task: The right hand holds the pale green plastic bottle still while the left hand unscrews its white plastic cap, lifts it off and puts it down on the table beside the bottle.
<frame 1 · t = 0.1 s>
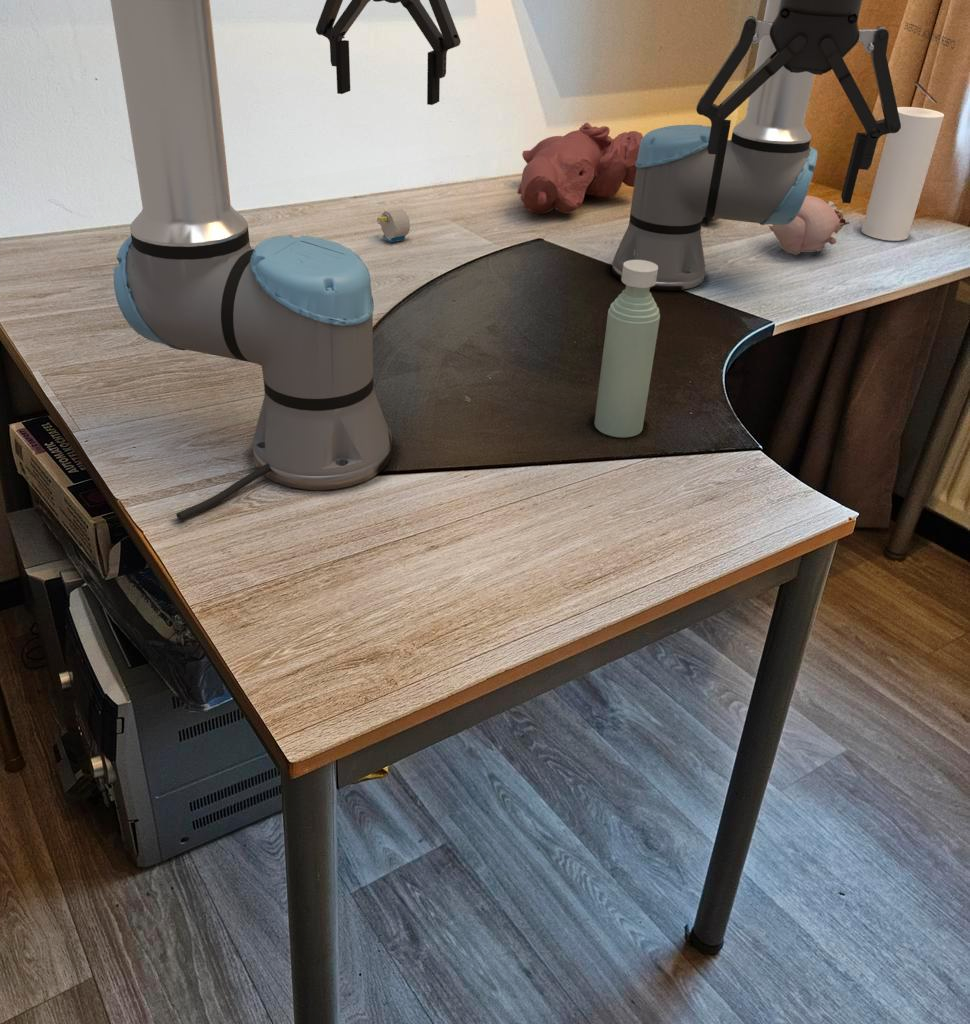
left hand: (388, 97, 135), 28 cm above the table, tool pointing down, fingers open, 13 cm apart
right hand: (779, 193, 103), 28 cm above the table, tool pointing down, fingers open, 13 cm apart
electric motor: (391, 241, 169), on the table
tall white cylinder: (880, 233, 185), on the table
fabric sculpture: (573, 204, 192), on the table
toy 2: (799, 251, 174), on the table
bottle: (618, 425, 117), on the table
cap: (640, 268, 106), point 20 cm above the table, screwed on, not yet turned
toy: (710, 205, 196), on the table
ceramic shard: (215, 291, 146), on the table
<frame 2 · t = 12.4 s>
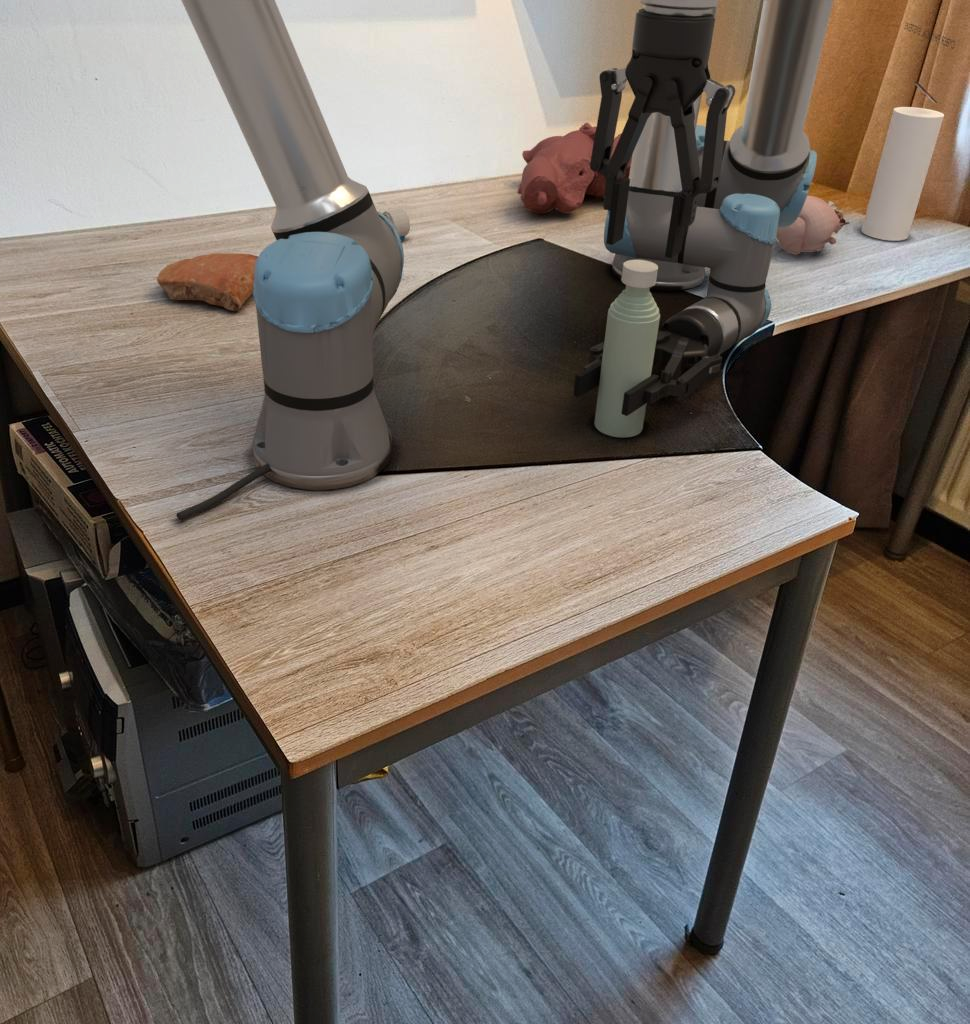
left hand: (643, 247, 104), 22 cm above the table, tool pointing down, fingers open, 6 cm apart
right hand: (601, 395, 110), 6 cm above the table, tool horizontal, fingers closed on bottle, 6 cm apart
bottle: (618, 425, 117), on the table, touching right hand
everything else where it was.
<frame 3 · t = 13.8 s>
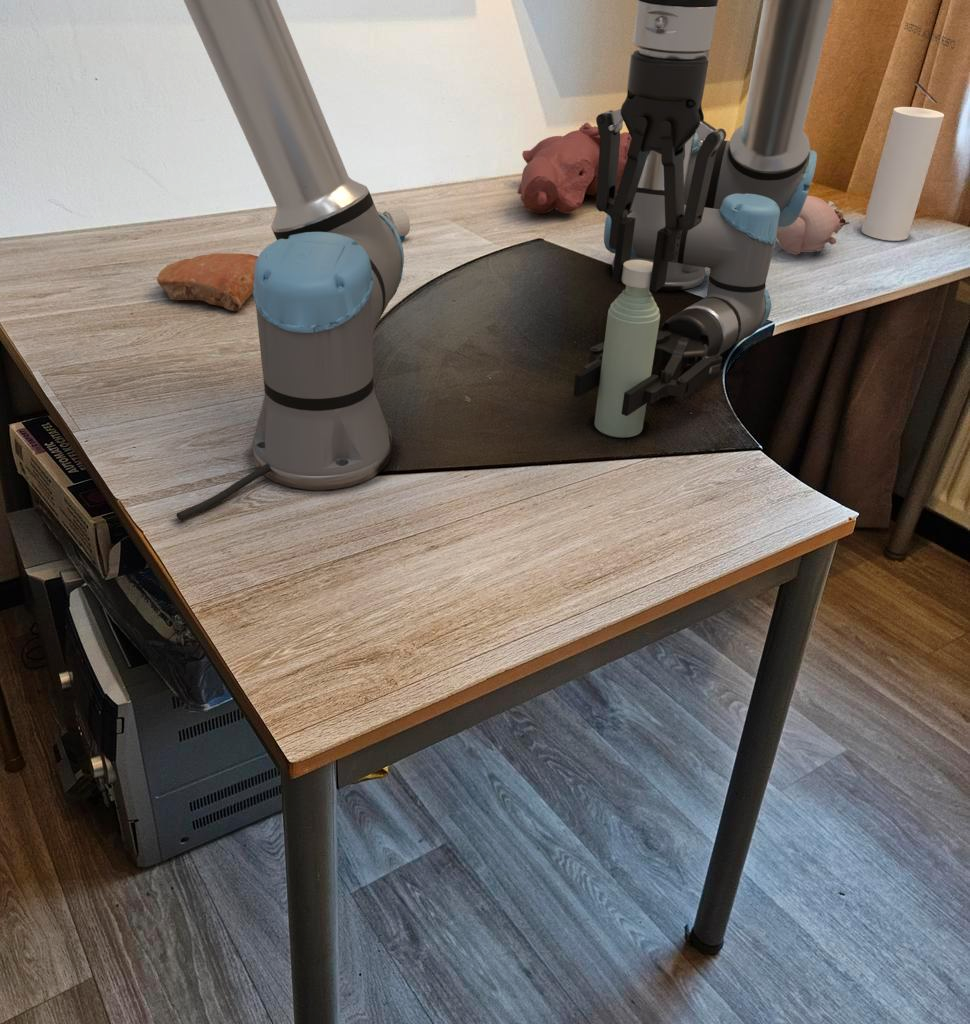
left hand: (638, 282, 107), 18 cm above the table, tool pointing down, fingers closed on cap, 4 cm apart
right hand: (601, 395, 110), 6 cm above the table, tool horizontal, fingers closed on bottle, 6 cm apart
bottle: (618, 425, 117), on the table, touching right hand
cap: (640, 268, 106), point 20 cm above the table, screwed on, not yet turned, touching left hand
everything else where it was.
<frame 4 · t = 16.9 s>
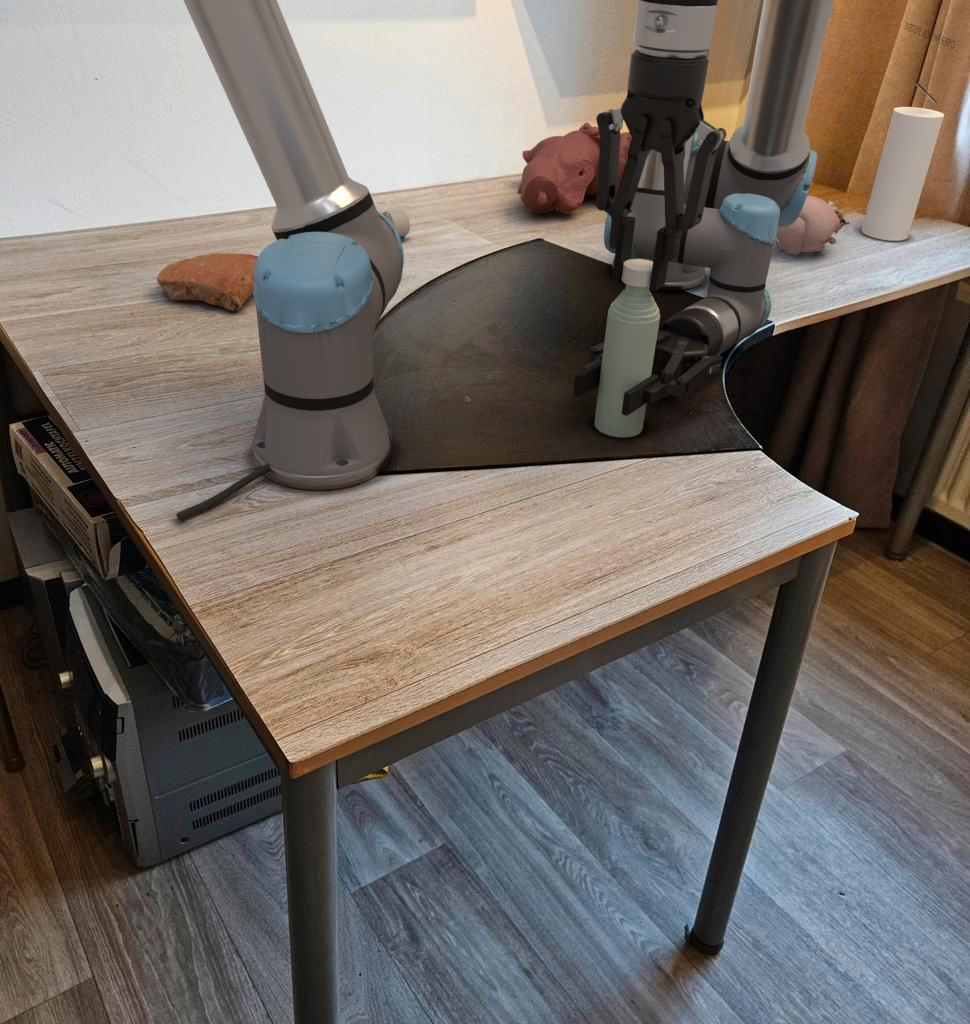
left hand: (638, 281, 107), 18 cm above the table, tool pointing down, fingers closed on cap, 4 cm apart
right hand: (601, 395, 110), 6 cm above the table, tool horizontal, fingers closed on bottle, 6 cm apart
bottle: (618, 425, 117), on the table, touching right hand
cap: (640, 267, 106), point 20 cm above the table, turned 88° so far, risen 0.1 cm, still on its thread, touching left hand
everything else where it was.
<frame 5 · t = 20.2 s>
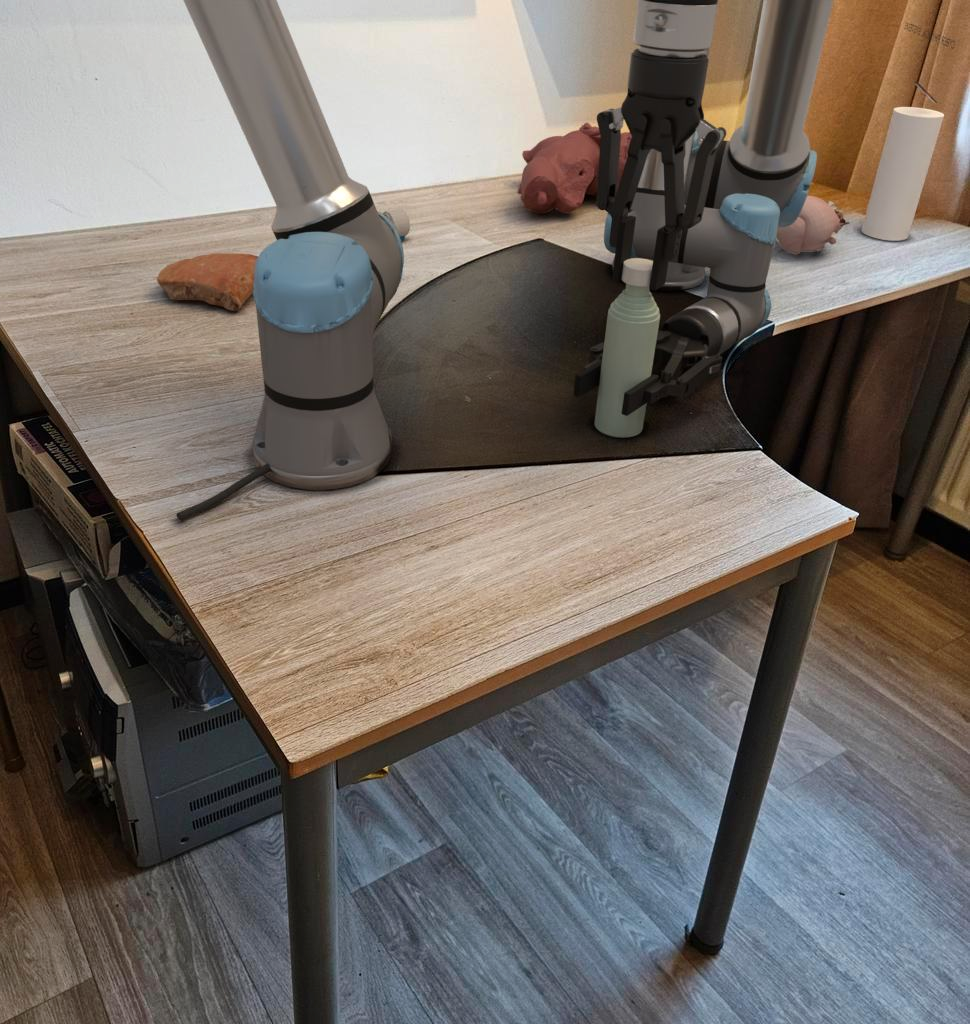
left hand: (638, 281, 106), 18 cm above the table, tool pointing down, fingers closed on cap, 4 cm apart
right hand: (601, 395, 110), 6 cm above the table, tool horizontal, fingers closed on bottle, 6 cm apart
bottle: (618, 425, 117), on the table, touching right hand
cap: (640, 266, 106), point 20 cm above the table, turned 176° so far, risen 0.2 cm, still on its thread, touching left hand
everything else where it was.
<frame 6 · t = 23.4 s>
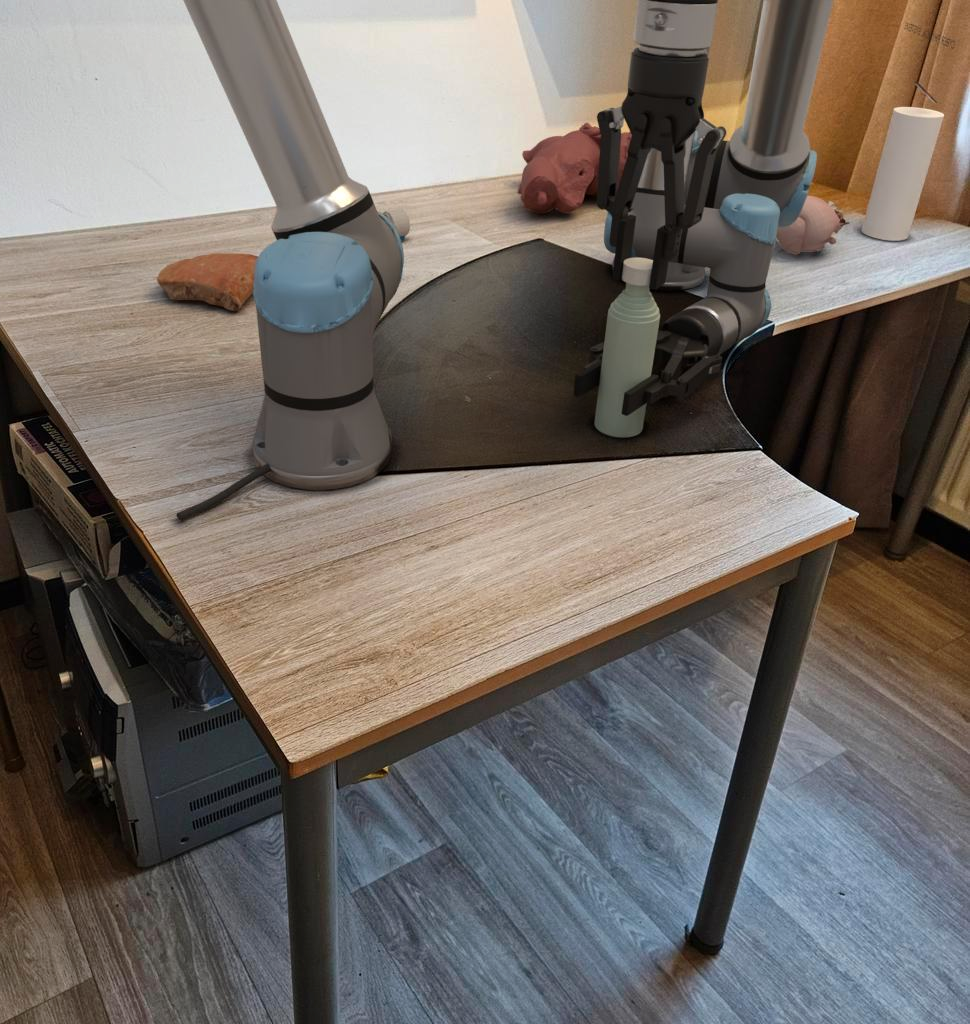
left hand: (638, 280, 106), 18 cm above the table, tool pointing down, fingers closed on cap, 4 cm apart
right hand: (601, 395, 110), 6 cm above the table, tool horizontal, fingers closed on bottle, 6 cm apart
bottle: (618, 425, 117), on the table, touching right hand
cap: (640, 266, 106), point 20 cm above the table, turned 264° so far, risen 0.2 cm, still on its thread, touching left hand
everything else where it was.
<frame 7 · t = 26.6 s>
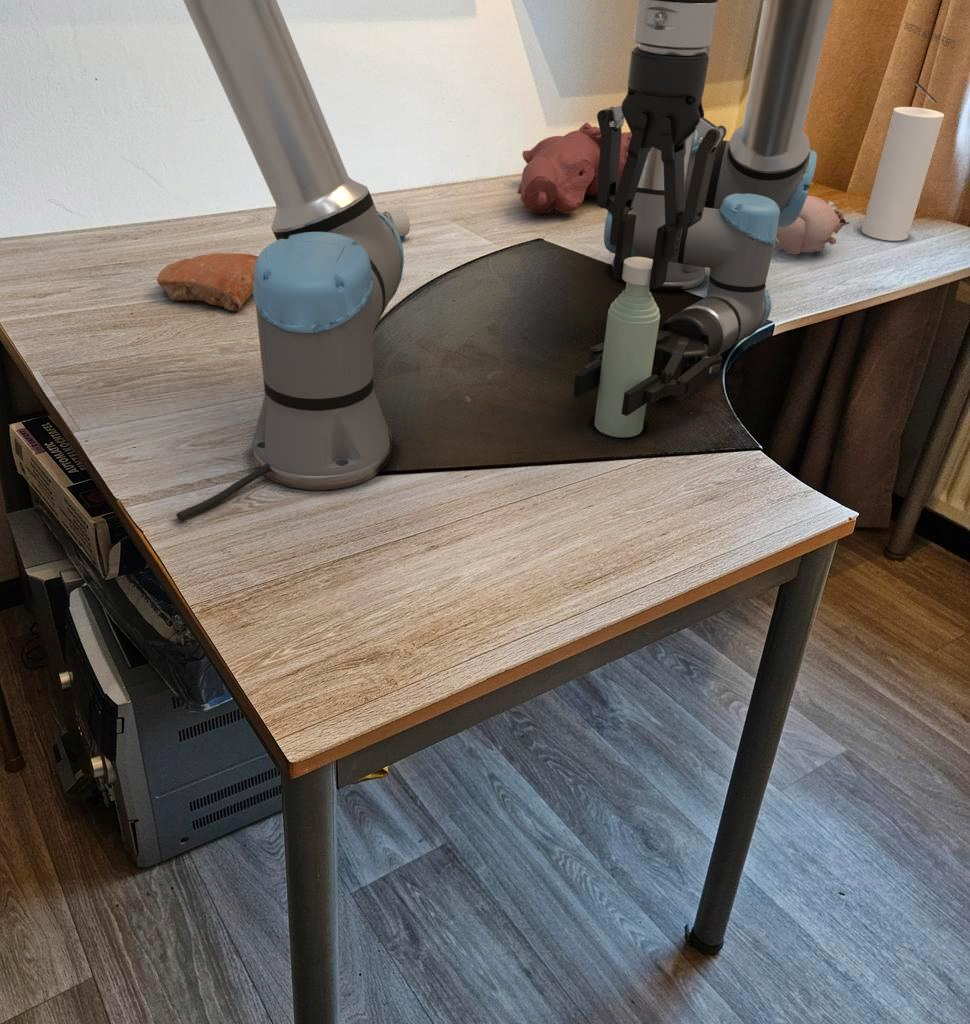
left hand: (638, 279, 106), 18 cm above the table, tool pointing down, fingers closed on cap, 4 cm apart
right hand: (601, 395, 110), 6 cm above the table, tool horizontal, fingers closed on bottle, 6 cm apart
bottle: (618, 425, 117), on the table, touching right hand
cap: (640, 265, 105), point 20 cm above the table, turned 353° so far, risen 0.3 cm, still on its thread, touching left hand
everything else where it was.
when the left hand's fingers open (1 cm above the table, at t = 36.1 s): cap drops 2 cm, point 2 cm above the table.
when the right hand's fingers open (6 cm above the table, at t = 37.3 s): bottle stays where it is, on the table.
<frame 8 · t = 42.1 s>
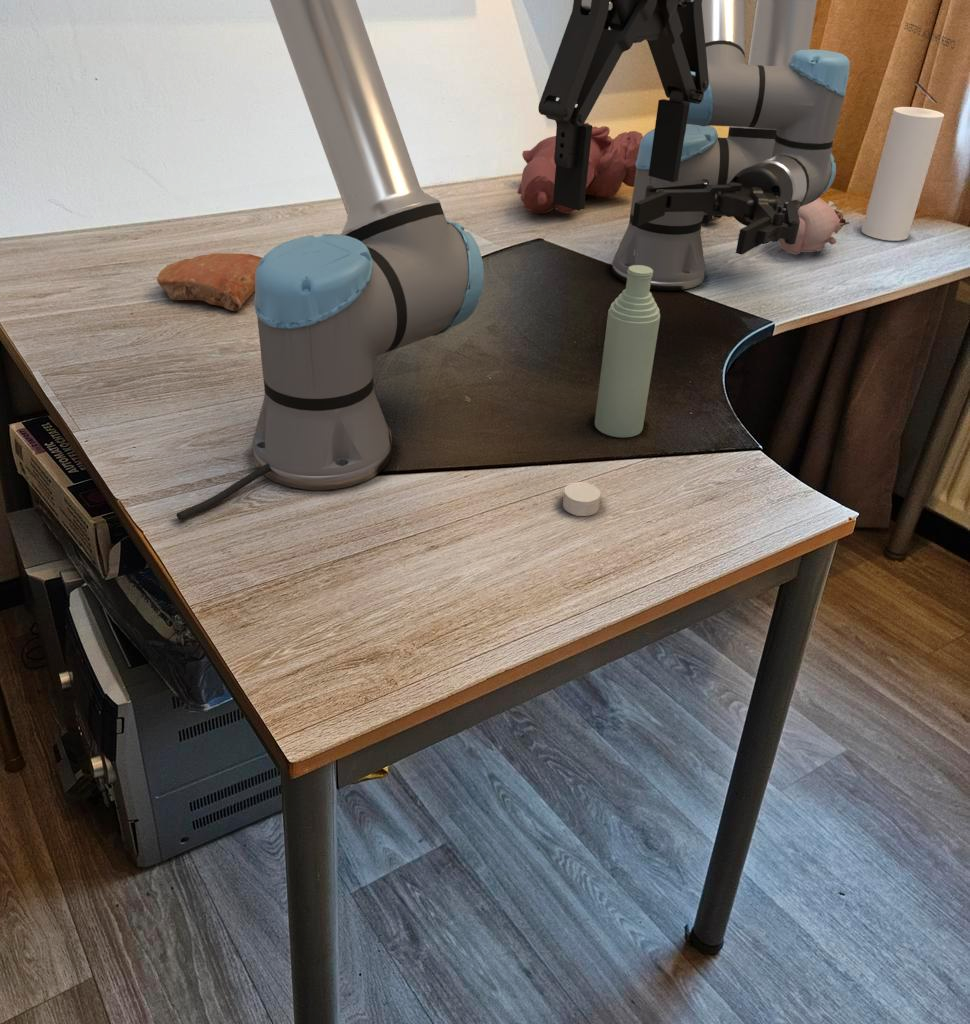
left hand: (617, 192, 83), 33 cm above the table, tool pointing down, fingers open, 13 cm apart
right hand: (686, 228, 111), 22 cm above the table, tool horizontal, fingers open, 13 cm apart
bottle: (618, 425, 117), on the table
cap: (582, 494, 101), point 2 cm above the table, off its thread
everything else where it was.
at the end: cap came off its thread; cap point 1.6 cm above the table; the left hand is holding nothing; the right hand is holding nothing; bottle tilted 0°; bottle moved 0.0 cm from its start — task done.
